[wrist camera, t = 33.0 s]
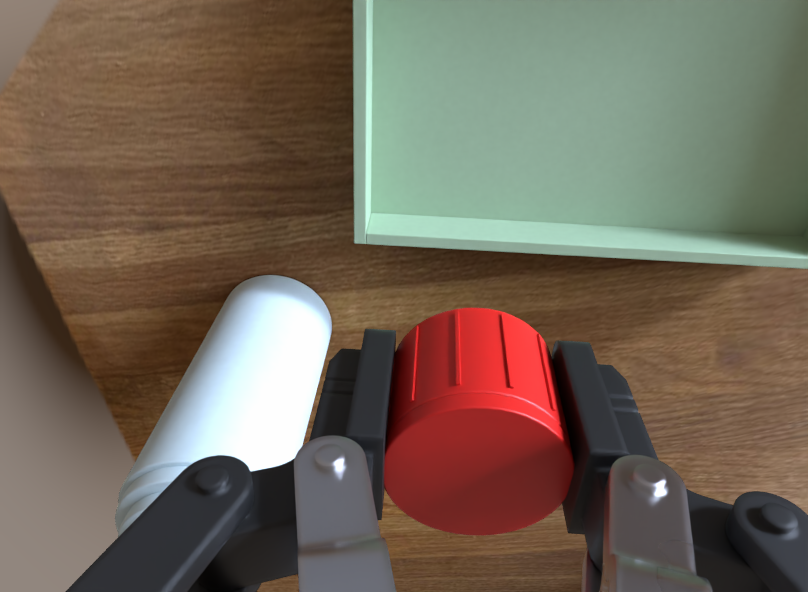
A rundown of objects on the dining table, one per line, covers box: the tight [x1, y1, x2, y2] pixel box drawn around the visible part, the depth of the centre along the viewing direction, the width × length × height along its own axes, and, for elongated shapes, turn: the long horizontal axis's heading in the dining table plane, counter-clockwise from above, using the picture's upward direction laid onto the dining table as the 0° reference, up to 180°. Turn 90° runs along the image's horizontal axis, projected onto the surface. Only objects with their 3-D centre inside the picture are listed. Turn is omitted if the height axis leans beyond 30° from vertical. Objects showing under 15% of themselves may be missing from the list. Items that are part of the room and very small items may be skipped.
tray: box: [353, 0, 808, 269], centre depth 26 cm, size 23×17×3 cm
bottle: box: [115, 275, 332, 537], centre depth 28 cm, size 6×6×20 cm
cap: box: [384, 308, 575, 535], centre depth 13 cm, size 4×4×3 cm
